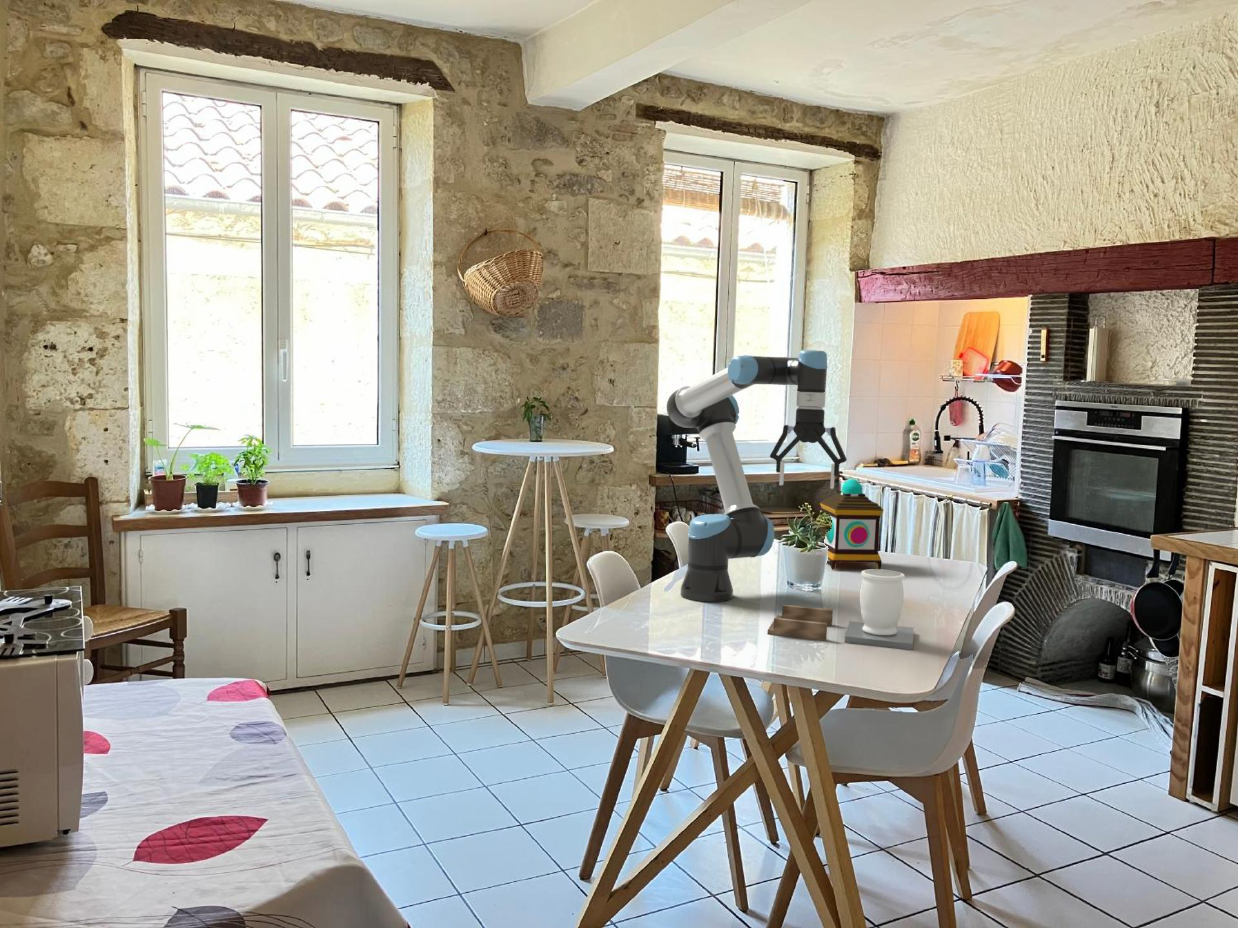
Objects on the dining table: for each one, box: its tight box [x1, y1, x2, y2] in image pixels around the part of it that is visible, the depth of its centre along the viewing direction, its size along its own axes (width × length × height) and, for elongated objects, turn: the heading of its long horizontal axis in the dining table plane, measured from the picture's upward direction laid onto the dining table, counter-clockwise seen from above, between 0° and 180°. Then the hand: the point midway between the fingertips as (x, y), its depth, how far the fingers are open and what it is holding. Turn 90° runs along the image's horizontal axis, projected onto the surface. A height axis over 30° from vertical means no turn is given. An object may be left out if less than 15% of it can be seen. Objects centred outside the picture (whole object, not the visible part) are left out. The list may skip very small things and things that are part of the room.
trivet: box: [844, 620, 915, 650], centre depth 247 cm, size 16×16×2 cm
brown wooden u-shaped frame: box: [766, 604, 834, 641], centre depth 253 cm, size 14×16×4 cm
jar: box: [859, 568, 905, 636], centre depth 246 cm, size 11×10×15 cm
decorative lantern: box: [819, 478, 884, 571], centre depth 337 cm, size 20×20×30 cm
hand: (806, 486), depth 267 cm, fingers open, 13 cm apart
